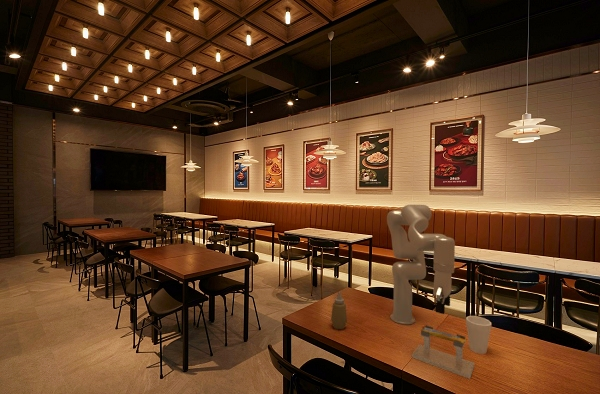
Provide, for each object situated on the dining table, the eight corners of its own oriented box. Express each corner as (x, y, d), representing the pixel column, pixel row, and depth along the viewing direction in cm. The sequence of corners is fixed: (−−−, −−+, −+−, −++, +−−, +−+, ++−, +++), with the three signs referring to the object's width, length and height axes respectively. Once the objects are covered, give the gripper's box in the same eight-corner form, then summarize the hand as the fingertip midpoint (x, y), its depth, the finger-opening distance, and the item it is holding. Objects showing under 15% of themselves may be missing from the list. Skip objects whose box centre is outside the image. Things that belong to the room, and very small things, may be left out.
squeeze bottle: (348, 325, 144) (349, 290, 144) (344, 332, 137) (344, 296, 137) (333, 322, 148) (334, 288, 148) (328, 328, 140) (329, 293, 140)
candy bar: (419, 332, 117) (419, 328, 117) (422, 328, 121) (422, 324, 121) (464, 346, 107) (464, 342, 107) (466, 342, 110) (466, 337, 110)
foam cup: (482, 358, 116) (483, 327, 116) (461, 347, 124) (461, 318, 124) (495, 352, 121) (495, 322, 120) (473, 342, 129) (474, 314, 129)
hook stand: (419, 347, 124) (419, 321, 124) (474, 366, 111) (474, 337, 110) (412, 357, 116) (412, 330, 116) (470, 379, 103) (470, 348, 103)
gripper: (439, 261, 122) (438, 300, 122) (428, 270, 109) (427, 313, 109) (458, 264, 117) (457, 304, 118) (449, 274, 104) (448, 319, 104)
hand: (442, 308), depth 113 cm, fingers open, 9 cm apart
